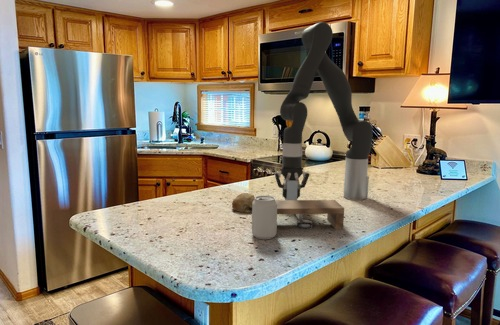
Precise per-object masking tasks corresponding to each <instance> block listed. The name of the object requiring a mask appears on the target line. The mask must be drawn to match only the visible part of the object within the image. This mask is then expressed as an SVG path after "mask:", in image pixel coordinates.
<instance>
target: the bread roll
mask: <svg viewBox="0 0 500 325" xmlns="http://www.w3.org/2000/svg"><path fill="white" fill-rule="evenodd" d="M255 197H256V196H255V195H254V194H251V193H249V192H248V193H247V192H242V193H239V195H237V196H236V197H235V198H234V199H233V200H232V202H231V208H232V209H233V210H234V211H236V212H239V213H246V214H247V213H252V202H253V201H254V200H255V199H254V198H255Z"/></svg>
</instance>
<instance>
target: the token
mask: <svg viewBox="0 0 500 325" xmlns="http://www.w3.org/2000/svg"><path fill="white" fill-rule="evenodd" d="M312 227H313V222H312V221H311V220H309V219H302V220H299V219H298V220H296V228H298V229H299V230H311V229H312Z"/></svg>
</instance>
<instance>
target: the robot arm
mask: <svg viewBox="0 0 500 325" xmlns="http://www.w3.org/2000/svg"><path fill="white" fill-rule="evenodd" d="M333 34H334V32H333V29H332V27H331V25H330V24H329V23H327V22H325V21H320V22H317V23H315V24H313V25H310V26H309V27H307V28H305V29H304V30H302V33H301V42H302V44H303V47H304V49H305V51H306V53H307V56H306V57H305V59H304V60H303V62H302V64H301V65H300V67H299V68H298V70H297V72H296V74H295V76H294V79H293V82H292V85H291V88H290V91H289V92H288V94H287V95H286V96H285V98H284V100H283V101H282V104H281V106H280V109H279V113H280V117H281V118H282V120H284V121H287V122H288V121H289V122H290V121H291V122H292V123H291V126H289V127H288V126H287V127H285V128H284V130H283V144H282V155H281V156H282V159H281V160H282V163H281V169H280V171H277V172H276V171H275V172H274V174H273V175H274V178H275V180H276V183H277V186H278V188H280V189H282V193H281V194H282V197H283V199H284V200H285V199H286V198H287V189H286V188H287V181H289V180H296V181H298V188H297V200H299V198H300V196H301V189H302V188H303V189H304V188H305V187H306V186H307V182H308V179H309V177H310V173H309V172H307V171H304V170H303V169H302V168H303V154H304V152H303V132H304V129H305V124H306V121H307V118H308V108H307V105H306V104H305V103H304V102H301V101H302V100H305V99H307V98H308V97H309V95H310V91H311V88H312V85H313V82H314V79H315V77H316V74H317V73H318V75H319V77H320V79H321V81H322V83H323V86H324V88H325V90H326V91H325V92H326V93H327V96H328V97H329V99H330V101H331V103H332V105H333V108H334V111H335V112H336V115H337V118H338V120H339V122H340V123H339V124H340V126H341V129H342V132H343V134H344V137H346V139H347V140H349V141H350V142H351V145H350V148H349V149H348V150H346V151H345V160H344V161H345V164H344V180H343V181H344V182H343V198H344V199H347V200H351V201H353V200H354V201H355V200H356V201H361V200H362V201H363V200H368V197H369V196H368V195H369V181H370V180H369V179H370V178H369V176H368V167H369V166H368V165H369V155H370V153H371V151H372V150H371V149H372V143H373V126H372V124H371V123H370V122H369V121H367V120H363V119H359V118H358V117H357V115H356V113H355V111H354V108H353V104H352V99H353V98H352V88H351V84H350V83H349V80H348V78H347V76H346V74H345V72H344V71H343V70H342V68H340V67H339V66H338V65H337V64H336V63H334V61H333V60H331V58H330V57H329V56H328V54H327V51H328V48H329V47H330V46H331V45H330V44H331V43H332V40H333ZM281 175H282V176H283V183H282V182H281V180H280V178H281ZM301 177H302V179H301V180H302V181H301V182H300V180H299V179H300V178H301Z"/></svg>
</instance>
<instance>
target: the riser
mask: <svg viewBox="0 0 500 325" xmlns="http://www.w3.org/2000/svg"><path fill="white" fill-rule="evenodd" d="M275 201H276V202H277V215H296V214H303V215H322V214H323V215H327V216H326V217H327V218H326V219H327V220H326V221H328V222H329V223H330V224H331V226H333V228H334V229H335V230H344V223H345V222H344V219H345V207H343V206H342V204H340V203H339V202H338V201H336V199H301V200H300V199H297V200H285V199H281V200H277V199H275Z"/></svg>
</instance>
